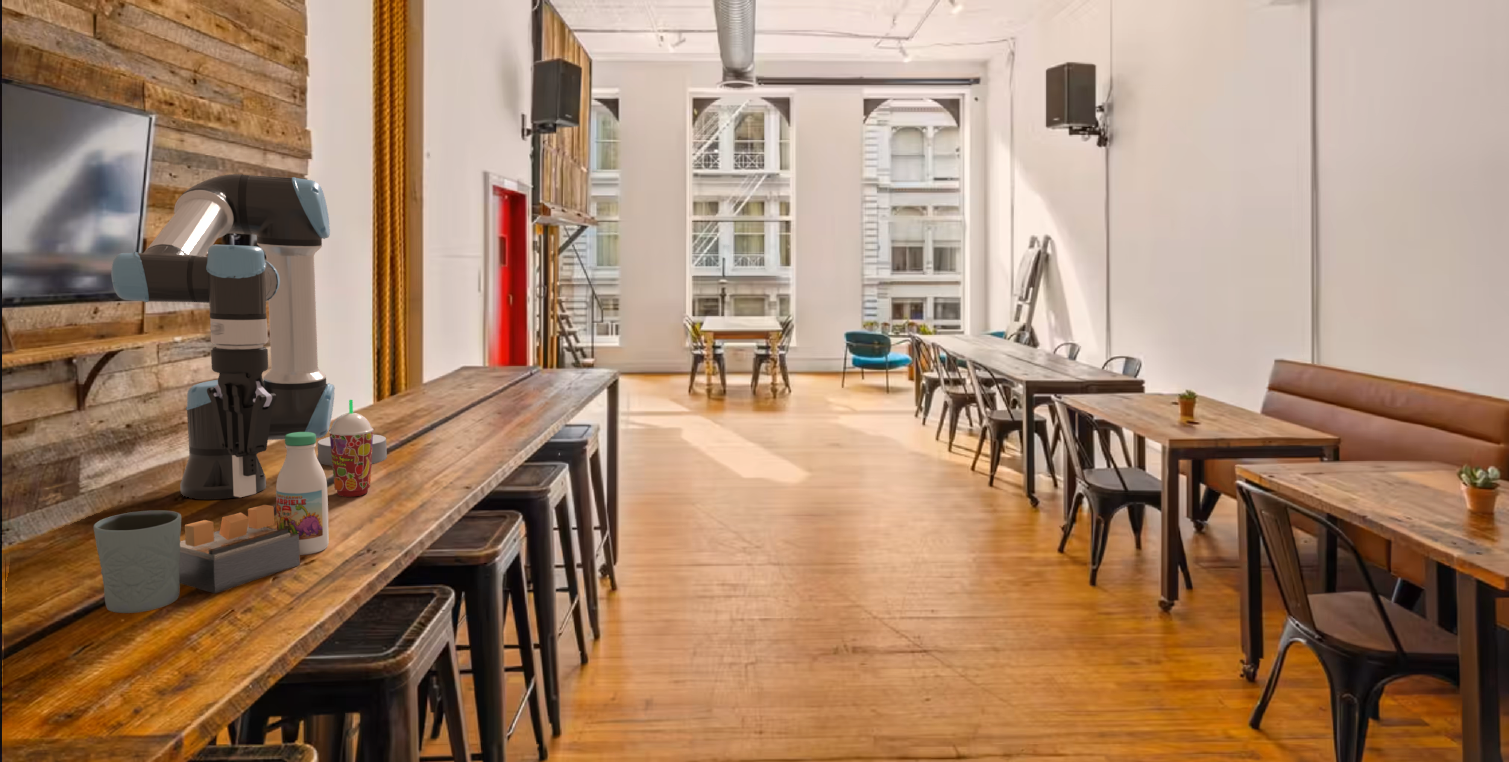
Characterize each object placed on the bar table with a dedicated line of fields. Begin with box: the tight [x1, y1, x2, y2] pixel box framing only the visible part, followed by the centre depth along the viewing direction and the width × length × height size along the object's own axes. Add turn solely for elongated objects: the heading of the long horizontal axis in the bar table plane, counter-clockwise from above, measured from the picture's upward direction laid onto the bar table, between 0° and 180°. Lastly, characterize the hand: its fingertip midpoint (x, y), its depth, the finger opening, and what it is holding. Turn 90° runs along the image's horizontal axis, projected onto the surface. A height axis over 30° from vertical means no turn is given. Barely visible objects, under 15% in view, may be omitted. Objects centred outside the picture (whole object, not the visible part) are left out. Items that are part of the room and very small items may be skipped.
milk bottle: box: [275, 432, 330, 556], centre depth 144 cm, size 8×8×20 cm
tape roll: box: [317, 434, 388, 467], centre depth 209 cm, size 15×15×5 cm
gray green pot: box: [93, 509, 182, 614], centre depth 121 cm, size 10×10×12 cm
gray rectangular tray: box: [179, 525, 301, 594], centre depth 133 cm, size 12×14×6 cm
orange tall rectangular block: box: [184, 519, 215, 547], centre depth 128 cm, size 2×3×3 cm, turn 156°
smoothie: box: [328, 399, 375, 498], centre depth 178 cm, size 8×8×20 cm
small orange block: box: [219, 512, 249, 540], centre depth 133 cm, size 2×3×3 cm, turn 158°
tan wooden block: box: [247, 504, 275, 529], centre depth 137 cm, size 2×3×3 cm, turn 156°
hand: (245, 494), depth 134 cm, fingers closed
